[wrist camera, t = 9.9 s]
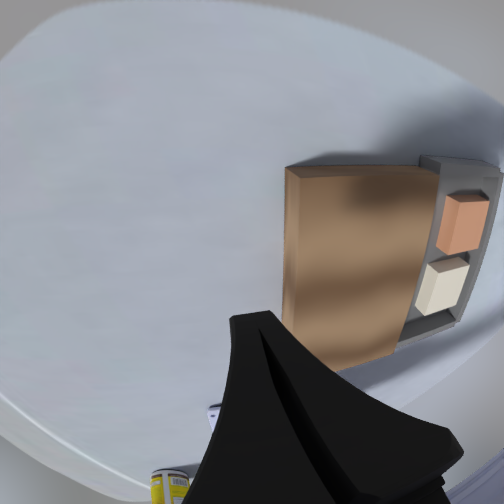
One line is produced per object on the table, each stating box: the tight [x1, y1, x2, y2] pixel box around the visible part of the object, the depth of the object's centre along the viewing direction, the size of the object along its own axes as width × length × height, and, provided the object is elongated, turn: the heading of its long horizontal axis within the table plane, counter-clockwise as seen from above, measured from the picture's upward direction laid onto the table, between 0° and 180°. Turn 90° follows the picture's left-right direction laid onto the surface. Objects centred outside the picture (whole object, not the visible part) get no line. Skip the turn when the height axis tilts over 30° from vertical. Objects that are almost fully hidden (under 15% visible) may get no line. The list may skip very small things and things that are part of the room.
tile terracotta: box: [436, 195, 490, 255], centre depth 21 cm, size 4×4×2 cm
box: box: [395, 155, 504, 349], centre depth 22 cm, size 17×9×2 cm, turn 2°
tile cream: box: [415, 257, 470, 316], centre depth 24 cm, size 4×4×2 cm
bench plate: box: [282, 165, 440, 372], centre depth 21 cm, size 16×10×2 cm, turn 2°
